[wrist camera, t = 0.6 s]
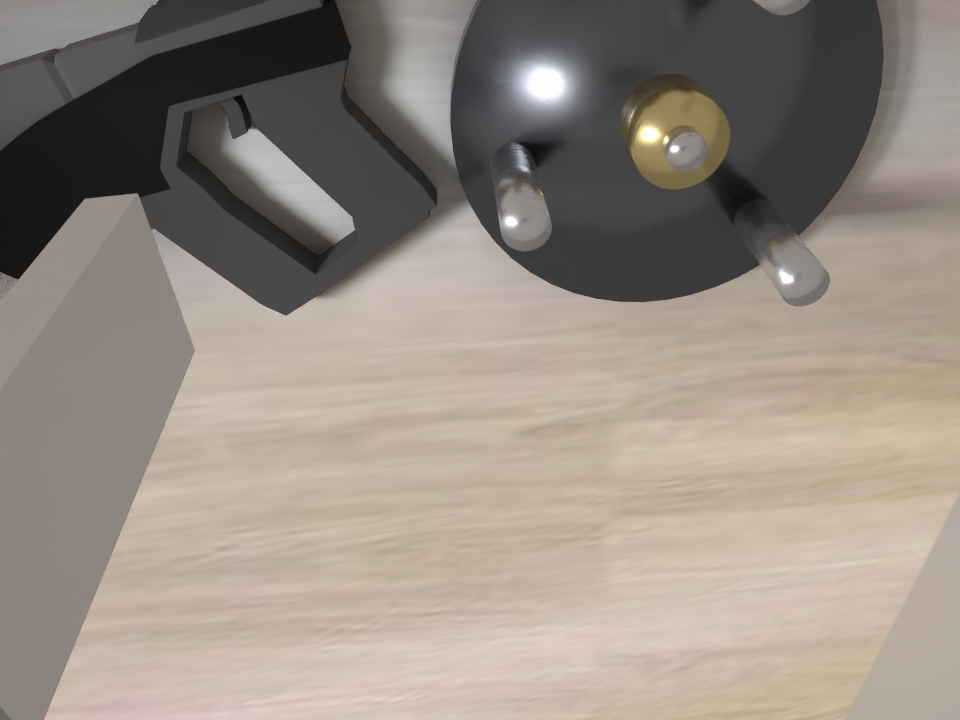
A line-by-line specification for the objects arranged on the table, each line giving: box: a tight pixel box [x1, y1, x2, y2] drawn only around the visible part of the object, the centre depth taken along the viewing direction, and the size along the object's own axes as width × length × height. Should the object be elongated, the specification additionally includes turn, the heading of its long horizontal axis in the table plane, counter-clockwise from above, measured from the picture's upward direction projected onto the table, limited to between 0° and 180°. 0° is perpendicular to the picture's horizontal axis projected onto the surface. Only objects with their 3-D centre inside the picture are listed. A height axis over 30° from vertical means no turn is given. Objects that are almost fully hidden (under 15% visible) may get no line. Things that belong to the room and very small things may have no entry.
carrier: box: [450, 0, 883, 306], centre depth 34 cm, size 19×19×8 cm
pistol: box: [0, 0, 437, 315], centre depth 37 cm, size 2×26×15 cm
